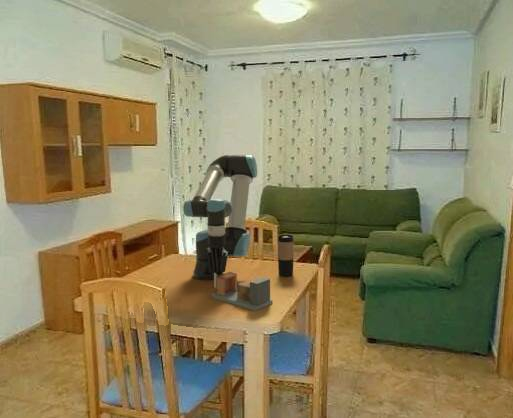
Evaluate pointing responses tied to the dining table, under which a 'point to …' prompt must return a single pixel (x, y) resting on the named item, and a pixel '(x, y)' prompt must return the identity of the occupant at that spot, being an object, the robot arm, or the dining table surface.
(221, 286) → the block
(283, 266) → the travel mug
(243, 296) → the brown block
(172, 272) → the dining table surface
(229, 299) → the board
